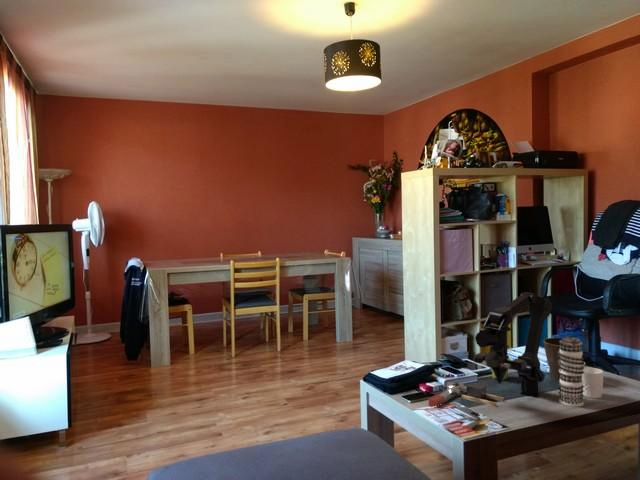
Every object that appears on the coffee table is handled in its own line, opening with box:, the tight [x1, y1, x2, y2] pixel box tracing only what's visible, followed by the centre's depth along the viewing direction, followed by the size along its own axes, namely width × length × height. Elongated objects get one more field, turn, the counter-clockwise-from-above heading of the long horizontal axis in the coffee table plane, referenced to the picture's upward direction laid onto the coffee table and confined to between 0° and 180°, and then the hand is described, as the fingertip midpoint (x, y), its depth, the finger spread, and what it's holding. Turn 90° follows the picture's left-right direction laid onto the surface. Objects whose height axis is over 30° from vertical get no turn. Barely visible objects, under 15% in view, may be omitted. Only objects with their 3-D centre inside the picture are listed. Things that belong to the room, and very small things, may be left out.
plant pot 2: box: [543, 337, 564, 380], centre depth 222 cm, size 15×15×16 cm
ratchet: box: [428, 381, 467, 407], centre depth 200 cm, size 14×22×4 cm, turn 137°
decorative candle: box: [558, 336, 585, 408], centre depth 193 cm, size 9×9×25 cm
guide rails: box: [460, 393, 505, 407], centre depth 200 cm, size 14×8×1 cm, turn 47°
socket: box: [465, 382, 487, 400], centre depth 201 cm, size 6×5×5 cm
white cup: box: [582, 367, 604, 399], centre depth 201 cm, size 8×8×10 cm
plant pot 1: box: [490, 357, 512, 381], centre depth 224 cm, size 9×9×9 cm
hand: (499, 383), depth 194 cm, fingers closed
